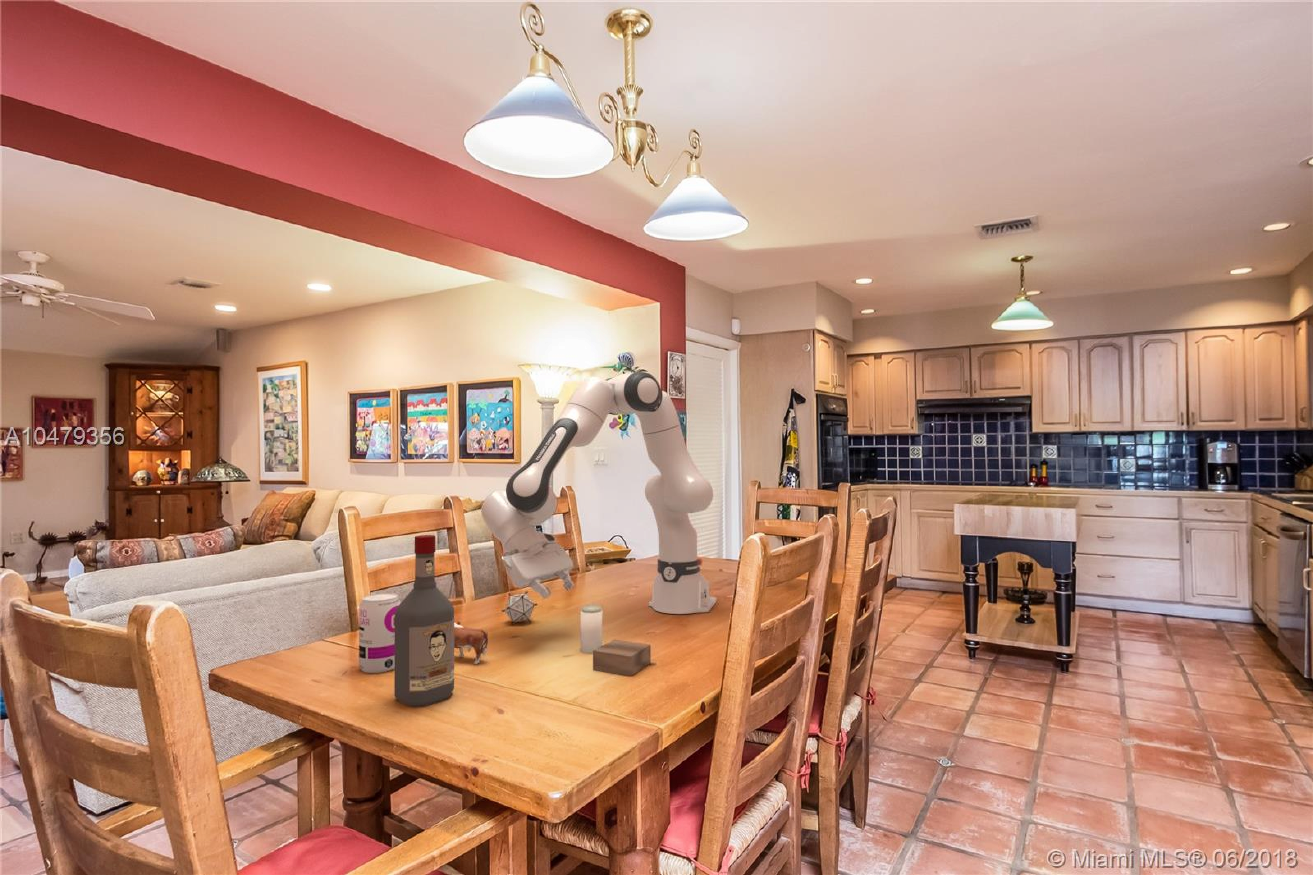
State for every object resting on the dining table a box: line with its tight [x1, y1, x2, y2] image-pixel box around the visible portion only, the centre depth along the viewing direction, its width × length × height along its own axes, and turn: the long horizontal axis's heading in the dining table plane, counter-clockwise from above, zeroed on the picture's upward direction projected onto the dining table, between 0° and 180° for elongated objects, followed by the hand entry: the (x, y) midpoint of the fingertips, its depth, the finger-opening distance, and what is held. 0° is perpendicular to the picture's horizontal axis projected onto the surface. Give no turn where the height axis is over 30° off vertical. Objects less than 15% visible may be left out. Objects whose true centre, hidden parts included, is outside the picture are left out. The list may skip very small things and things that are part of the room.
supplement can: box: [358, 592, 402, 674], centre depth 140 cm, size 8×8×15 cm
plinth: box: [592, 638, 652, 677], centre depth 140 cm, size 9×9×4 cm
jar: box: [580, 604, 603, 654], centre depth 152 cm, size 5×5×10 cm
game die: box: [501, 590, 538, 626], centre depth 176 cm, size 9×8×10 cm
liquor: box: [393, 534, 455, 707], centre depth 124 cm, size 9×9×30 cm
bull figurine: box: [454, 621, 489, 665], centre depth 145 cm, size 4×13×8 cm, turn 59°
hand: (559, 592), depth 156 cm, fingers open, 8 cm apart
